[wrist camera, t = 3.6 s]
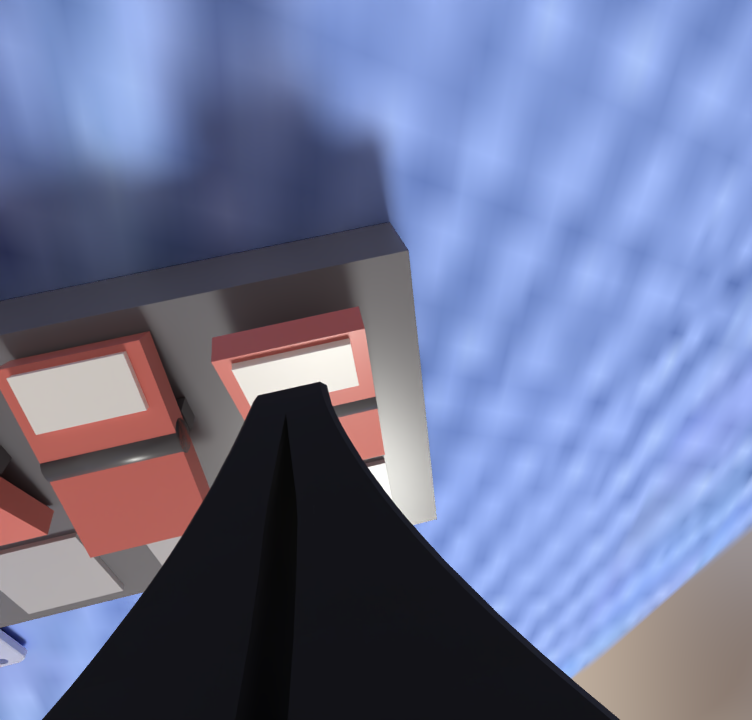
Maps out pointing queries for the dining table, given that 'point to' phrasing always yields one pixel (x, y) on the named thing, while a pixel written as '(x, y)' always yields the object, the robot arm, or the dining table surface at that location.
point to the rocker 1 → (21, 515)
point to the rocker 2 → (109, 440)
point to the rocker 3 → (306, 368)
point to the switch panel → (211, 385)
